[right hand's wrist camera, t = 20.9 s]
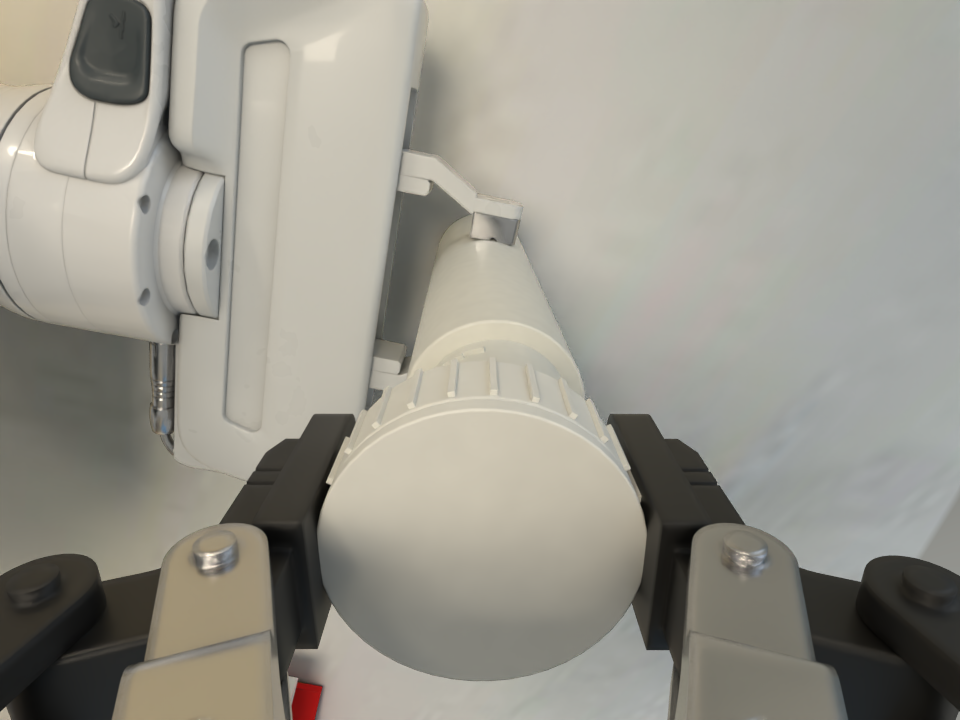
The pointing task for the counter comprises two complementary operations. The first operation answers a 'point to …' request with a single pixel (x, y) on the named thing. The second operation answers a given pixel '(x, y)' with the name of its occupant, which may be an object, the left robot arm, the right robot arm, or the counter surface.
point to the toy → (304, 699)
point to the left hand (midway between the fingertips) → (503, 293)
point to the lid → (481, 523)
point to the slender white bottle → (489, 310)
